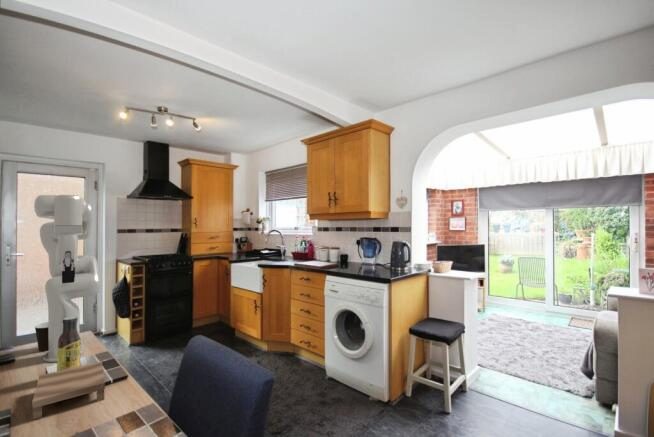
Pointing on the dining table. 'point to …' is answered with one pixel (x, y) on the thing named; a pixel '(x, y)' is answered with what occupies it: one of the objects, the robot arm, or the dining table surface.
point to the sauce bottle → (69, 345)
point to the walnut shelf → (68, 385)
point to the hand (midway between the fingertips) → (68, 280)
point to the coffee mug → (42, 337)
